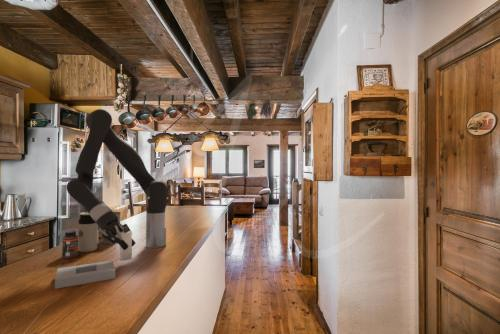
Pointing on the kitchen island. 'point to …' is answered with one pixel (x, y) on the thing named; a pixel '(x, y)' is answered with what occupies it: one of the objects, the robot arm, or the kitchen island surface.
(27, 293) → the kitchen island surface
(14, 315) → the kitchen island surface
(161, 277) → the kitchen island surface
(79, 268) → the socket
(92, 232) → the travel mug
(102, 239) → the coffee box
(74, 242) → the supplement bottle
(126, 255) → the plug
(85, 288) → the kitchen island surface
